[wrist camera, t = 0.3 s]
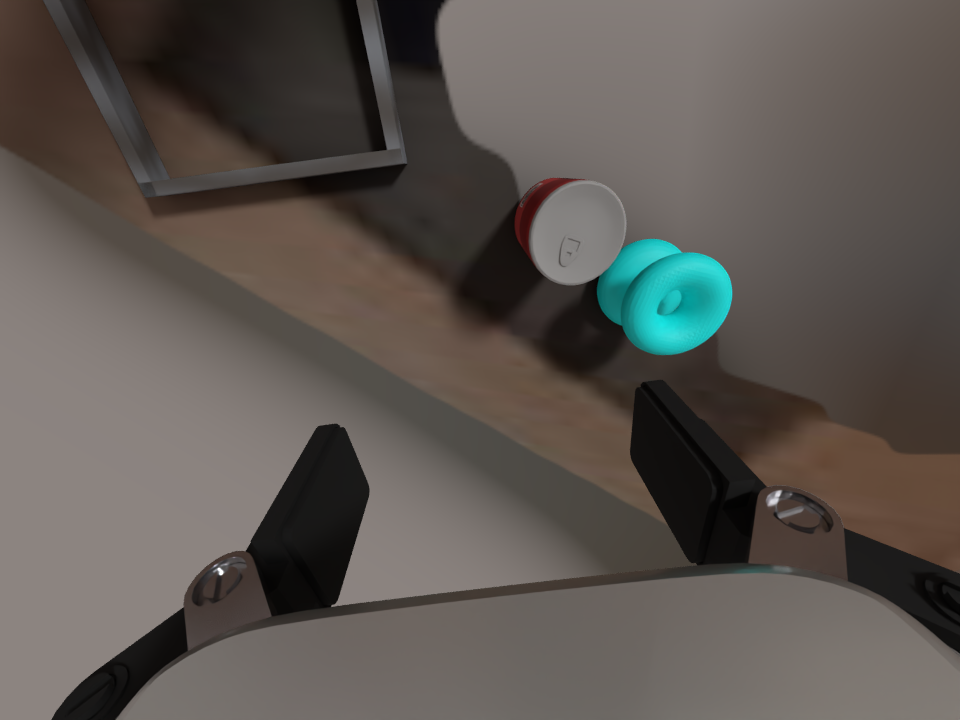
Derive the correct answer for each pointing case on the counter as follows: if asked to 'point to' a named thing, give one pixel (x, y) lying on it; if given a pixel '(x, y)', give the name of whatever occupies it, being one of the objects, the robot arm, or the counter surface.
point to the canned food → (570, 228)
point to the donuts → (664, 296)
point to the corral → (154, 181)
